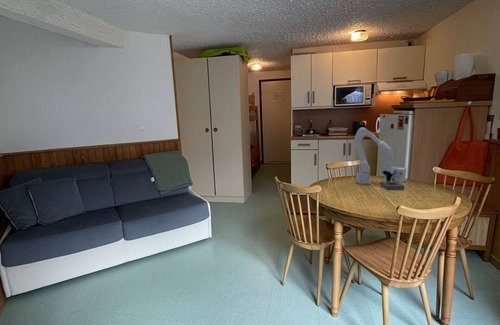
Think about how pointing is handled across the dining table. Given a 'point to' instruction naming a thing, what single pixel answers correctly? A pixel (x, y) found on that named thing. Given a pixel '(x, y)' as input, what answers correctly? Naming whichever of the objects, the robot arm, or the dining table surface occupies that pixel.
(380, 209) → the dining table surface
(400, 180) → the light bulb box
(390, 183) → the socket
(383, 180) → the plug
